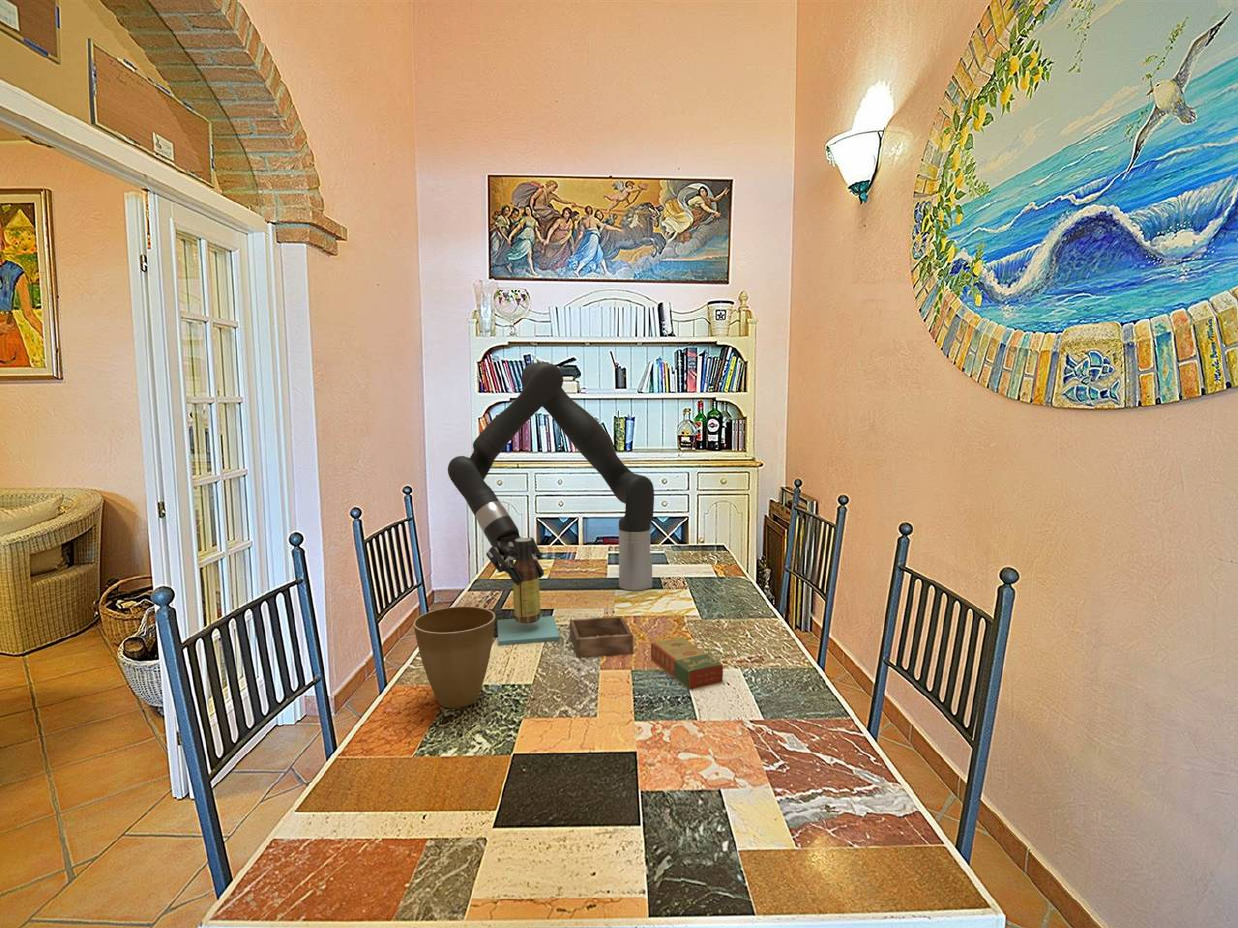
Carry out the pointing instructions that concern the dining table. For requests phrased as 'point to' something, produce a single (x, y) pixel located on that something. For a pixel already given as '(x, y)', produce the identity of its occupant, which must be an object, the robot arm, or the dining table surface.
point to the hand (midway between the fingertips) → (530, 579)
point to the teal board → (527, 631)
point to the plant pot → (455, 651)
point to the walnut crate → (604, 643)
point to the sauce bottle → (526, 584)
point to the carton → (686, 663)
